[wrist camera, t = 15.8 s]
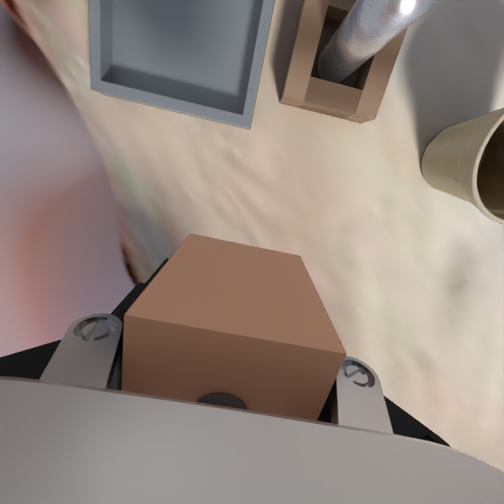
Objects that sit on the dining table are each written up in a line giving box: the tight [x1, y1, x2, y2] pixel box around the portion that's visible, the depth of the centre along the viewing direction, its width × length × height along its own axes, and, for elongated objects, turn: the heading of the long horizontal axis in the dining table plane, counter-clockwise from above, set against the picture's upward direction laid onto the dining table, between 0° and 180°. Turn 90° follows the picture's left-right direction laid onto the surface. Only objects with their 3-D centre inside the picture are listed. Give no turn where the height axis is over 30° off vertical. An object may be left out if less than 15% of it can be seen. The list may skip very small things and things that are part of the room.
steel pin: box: [318, 0, 439, 83], centre depth 16 cm, size 3×3×12 cm
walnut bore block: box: [280, 0, 407, 123], centre depth 21 cm, size 8×8×3 cm
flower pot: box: [421, 108, 504, 224], centre depth 21 cm, size 9×9×9 cm
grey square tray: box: [89, 0, 275, 130], centre depth 20 cm, size 14×14×2 cm
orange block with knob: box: [121, 234, 346, 421], centre depth 9 cm, size 5×5×6 cm
